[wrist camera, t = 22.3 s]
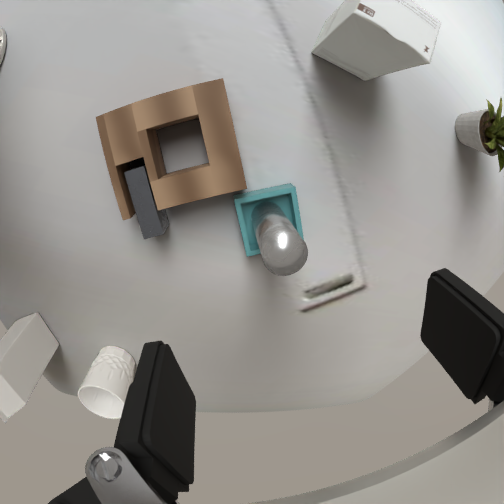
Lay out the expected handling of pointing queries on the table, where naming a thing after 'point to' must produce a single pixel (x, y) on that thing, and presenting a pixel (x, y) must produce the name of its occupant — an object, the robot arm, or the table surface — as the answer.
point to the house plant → (483, 131)
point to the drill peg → (278, 240)
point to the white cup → (107, 382)
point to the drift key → (145, 203)
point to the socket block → (147, 145)
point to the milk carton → (23, 361)
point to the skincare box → (377, 37)
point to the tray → (278, 195)
